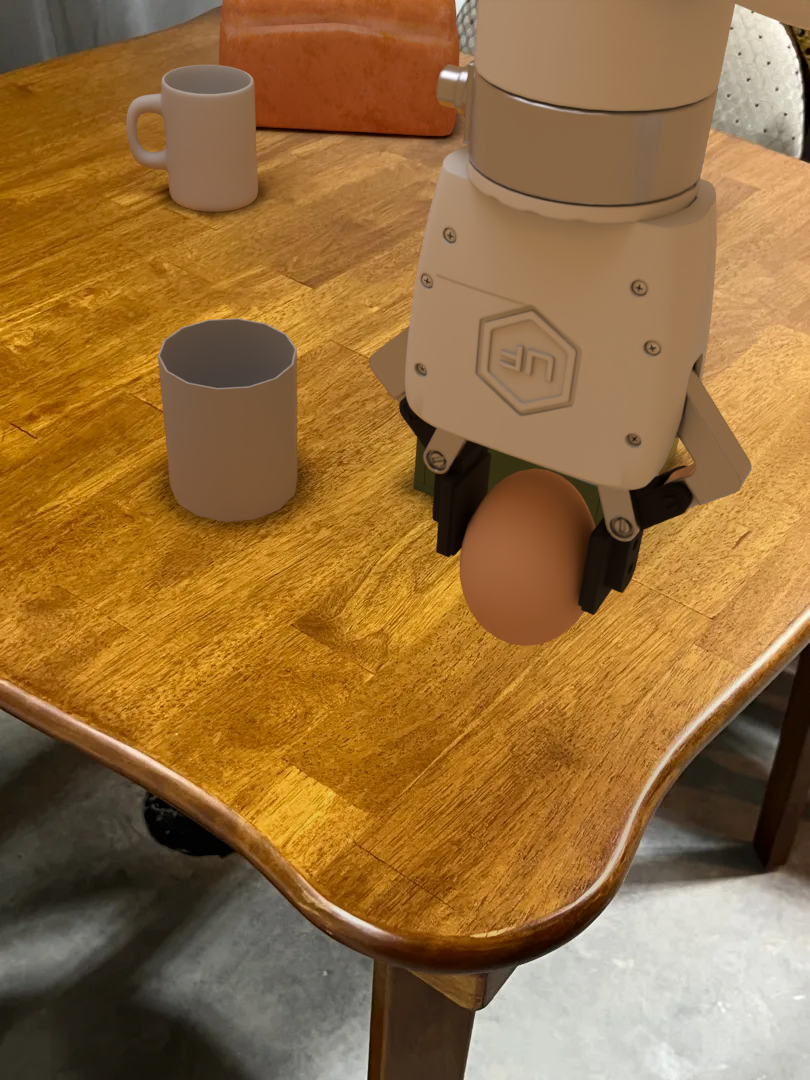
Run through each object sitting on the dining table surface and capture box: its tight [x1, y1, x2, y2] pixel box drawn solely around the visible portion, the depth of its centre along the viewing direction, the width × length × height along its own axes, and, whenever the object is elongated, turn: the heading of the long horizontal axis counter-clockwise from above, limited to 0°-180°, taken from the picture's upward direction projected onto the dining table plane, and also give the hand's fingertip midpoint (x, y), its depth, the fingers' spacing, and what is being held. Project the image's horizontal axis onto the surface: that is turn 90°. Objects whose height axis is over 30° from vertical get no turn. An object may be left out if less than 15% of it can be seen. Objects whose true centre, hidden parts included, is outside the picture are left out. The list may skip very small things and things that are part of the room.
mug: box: [125, 64, 259, 213], centre depth 109 cm, size 12×8×11 cm
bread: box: [218, 0, 461, 137], centre depth 126 cm, size 14×26×16 cm, turn 90°
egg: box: [459, 469, 595, 647], centre depth 48 cm, size 6×6×8 cm
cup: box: [157, 317, 299, 523], centre depth 74 cm, size 8×8×10 cm
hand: (529, 562), depth 48 cm, fingers closed on egg, 5 cm apart
